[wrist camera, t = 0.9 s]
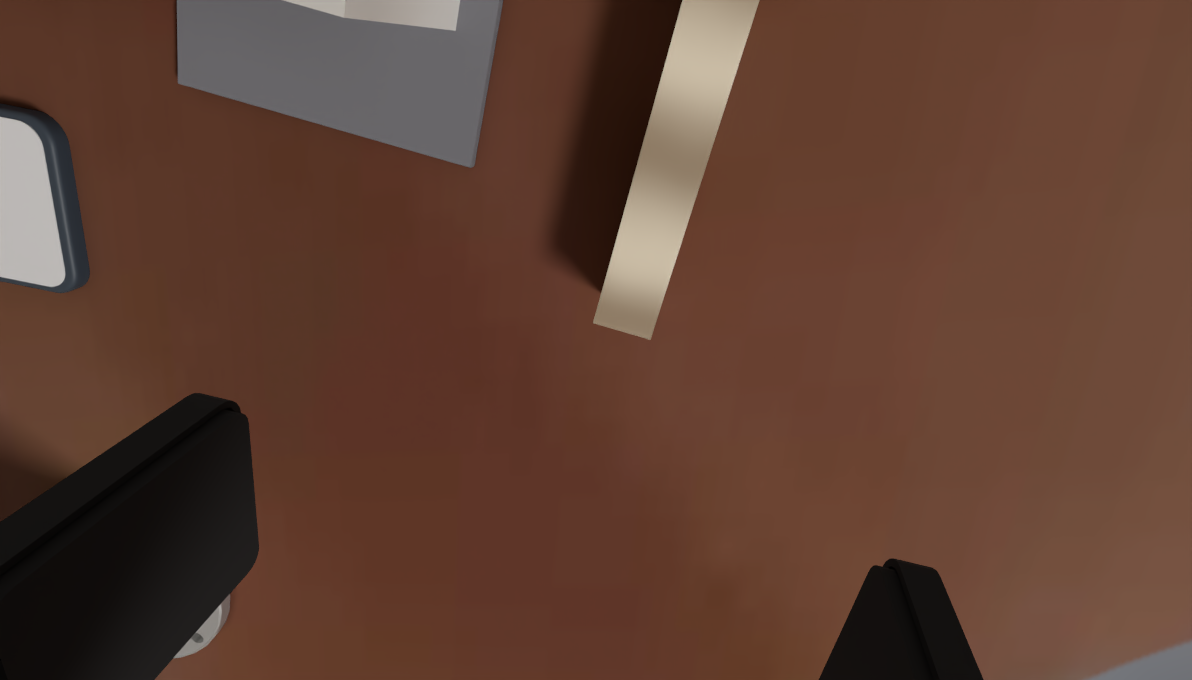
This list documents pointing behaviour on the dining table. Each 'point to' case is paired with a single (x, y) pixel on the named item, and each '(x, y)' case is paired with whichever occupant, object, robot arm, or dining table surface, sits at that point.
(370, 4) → the tile
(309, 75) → the mat
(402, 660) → the dining table surface
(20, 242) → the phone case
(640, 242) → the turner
